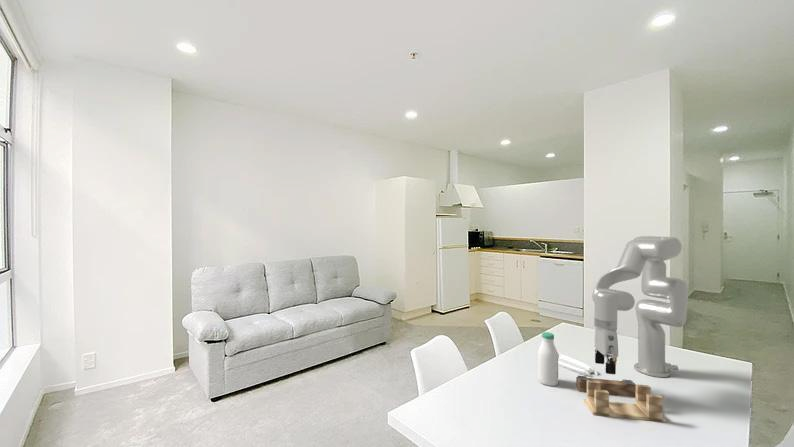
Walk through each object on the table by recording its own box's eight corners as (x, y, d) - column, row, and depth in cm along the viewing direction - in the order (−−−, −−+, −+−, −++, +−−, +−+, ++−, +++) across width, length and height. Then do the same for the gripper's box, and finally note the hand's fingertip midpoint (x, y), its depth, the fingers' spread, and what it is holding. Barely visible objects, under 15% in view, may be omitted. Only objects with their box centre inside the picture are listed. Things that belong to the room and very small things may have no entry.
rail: (632, 393, 128) (632, 380, 128) (637, 398, 124) (637, 384, 124) (576, 388, 132) (576, 375, 132) (579, 392, 128) (579, 379, 128)
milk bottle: (557, 388, 131) (557, 338, 131) (536, 383, 135) (536, 334, 135) (559, 380, 137) (559, 332, 137) (539, 376, 141) (539, 329, 142)
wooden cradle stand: (651, 408, 117) (651, 385, 117) (666, 422, 108) (666, 398, 108) (583, 401, 121) (583, 379, 121) (592, 414, 112) (592, 391, 113)
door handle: (553, 354, 166) (601, 374, 144) (539, 357, 162) (586, 379, 140) (553, 349, 166) (601, 368, 144) (539, 352, 162) (586, 372, 140)
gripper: (627, 331, 119) (626, 379, 118) (606, 319, 136) (605, 360, 135) (604, 329, 120) (603, 377, 120) (586, 317, 137) (586, 359, 137)
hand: (604, 368), depth 128 cm, fingers open, 9 cm apart
